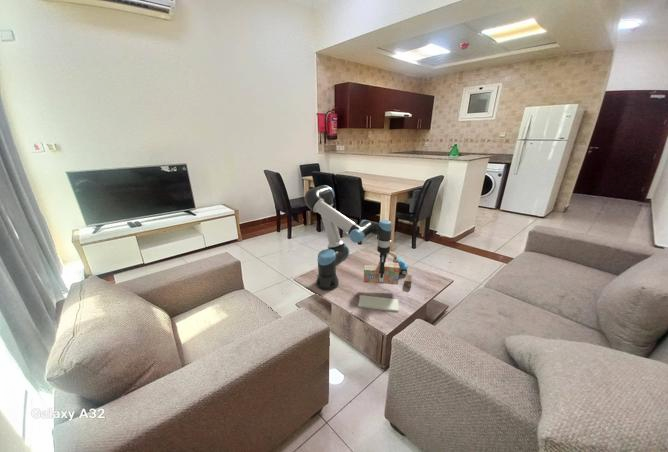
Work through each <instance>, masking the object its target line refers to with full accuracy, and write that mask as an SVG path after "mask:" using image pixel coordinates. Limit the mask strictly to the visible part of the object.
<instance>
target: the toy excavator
mask: <svg viewBox="0 0 668 452" xmlns="http://www.w3.org/2000/svg"><path fill="white" fill-rule="evenodd" d="M389 255H390V256H392V257H393V260H392V262H393V263H399V267H400V269H399V273H401V275H402V276H406V274H407V275H408V269H409V264H408V263H407V262H405V260H404V258H402V257H398V256H397V254H396V253H395V252H393V251H391V250H390V252H389V253H387V254H386V258H387V257H388V256H389Z"/></svg>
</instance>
